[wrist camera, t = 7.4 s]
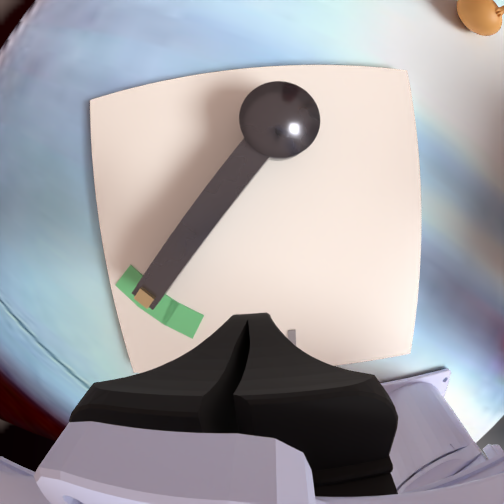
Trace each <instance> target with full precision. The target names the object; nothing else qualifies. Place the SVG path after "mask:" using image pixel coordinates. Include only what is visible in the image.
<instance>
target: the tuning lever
mask: <svg viewBox="0 0 504 504" xmlns="http://www.w3.org/2000/svg"><path fill="white" fill-rule="evenodd" d="M239 124H240V128H241V131H242V134H243V136H244V139H243V140H242V141H241V142H240V144H239V145H238V146H237V147H236V148H235V150H234V151H233V152H232V154H231V155H230V156H229V157H228V159H227V160H226V161H225V162H224V164H223V165H222V166H221V168H220V169H219V170H218V171H217V173H216V174H215V175H214V177H213V178H212V179H211V181H210V182H209V183H208V185H207V186H206V187H205V188H204V190H203V191H202V192H201V194H200V195H199V197H198V198H197V199H196V201H195V202H194V203H193V205H192V206H191V207H190V209H189V210H188V211H187V213H186V214H185V216H184V217H183V218H182V220H181V221H180V223H179V224H178V225H177V227H176V228H175V230H174V231H173V232H172V234H171V235H170V237H169V238H168V240H167V241H166V242H165V244H164V245H163V247H162V248H161V250H160V251H159V253H158V254H157V256H156V257H155V258H154V260H153V261H152V263H151V264H150V266H149V267H148V269H147V270H146V272H145V273H144V275H143V276H142V278H141V279H140V281H139V282H138V284H137V286H136V287H135V289H134V290H133V292H132V294H133V295H134V296H135V297H134V299H135V300H136V301H137V302H139V303H140V304H141V305H143V306H144V307H145V308H146V309H148V308H151V309H152V310H154V308H155V307H156V306H157V305H158V303H159V302H160V301H161V300H162V298H163V297H164V296H165V294H166V293H167V292H168V290H169V289H170V288H171V286H172V285H173V283H174V282H175V281H176V279H177V278H178V277H179V275H180V274H181V272H182V271H183V270H184V268H185V267H186V266H187V264H188V263H189V262H190V260H191V259H192V258H193V256H194V255H195V254H196V252H197V251H198V250H199V248H200V247H201V246H202V244H203V243H204V242H205V240H206V239H207V238H208V236H209V235H210V234H211V232H212V231H213V230H214V228H215V227H216V226H217V225H218V223H219V222H220V221H221V219H222V218H223V217H224V215H225V214H226V213H227V212H228V210H229V209H230V208H231V206H232V205H233V204H234V203H235V201H236V200H237V199H238V197H239V196H240V195H241V194H242V192H243V191H244V190H245V189H246V187H247V186H248V185H249V183H250V182H251V181H252V180H253V178H254V177H255V176H256V175H257V173H258V172H259V171H260V170H261V168H262V167H263V166H264V165H265V164H266V162H267V161H268V160H274V161H283V160H288V159H291V158H293V157H295V156H297V155H298V154H300V153H301V152H303V151H304V150H306V149H307V148H308V147H309V146H310V145H311V144H312V143H313V141H314V140H315V138H316V136H317V134H318V132H319V128H320V113H319V109H318V107H317V104H316V102H315V101H314V99H313V98H312V97H311V95H310V94H309V93H308V92H307V91H305V90H304V89H303V88H301V87H299V86H297V85H295V84H292V83H289V82H284V81H273V82H268V83H265V84H262V85H260V86H258V87H256V88H255V89H254V90H252V91H251V92H250V93H249V94H248V95H247V97H246V98H245V99H244V101H243V103H242V105H241V108H240V113H239Z"/></svg>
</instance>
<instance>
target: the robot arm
mask: <svg viewBox="0 0 504 504" xmlns="http://www.w3.org/2000/svg"><path fill="white" fill-rule="evenodd" d="M450 375H451V371H450V370H449V369H448V368H447V369H442V370H439V371H435V372H431V373H427V374H422V375H418V376H414V377H409V378H405V379H400V380H395V381H390V382H385V383H380V382H379V381H378V380H377V378H376V377H375V376H374V375H371V374H365V373H360V372H354V371H349V370H345V369H342V368H339V367H336V366H332V365H330V364H327V363H325V362H322V361H320V360H318V359H316V358H314V357H312V356H310V355H309V354H307V353H305V352H304V351H302V350H301V349H299V348H298V347H297V346H295V345H294V344H293V343H292V342H291V341H290V340H289V339H288V338H287V337H286V336H285V335H284V334H283V333H282V332H281V331H280V330H279V328H278V327H277V326H276V324H275V323H274V322H273V320H272V318H271V316H270V314H268V313H252V314H236V315H232V316H231V317H230V318H229V319H228V320H227V321H226V322H225V323H224V324H223V325H222V326H221V327H220V328H218V329H217V330H216V331H215V332H214V333H213V334H212V335H211V336H209V337H208V338H207V339H205V340H204V341H203V342H202V343H200V344H199V345H198V346H196V347H195V348H193V349H192V350H190V351H189V352H187V353H185V354H184V355H182V356H180V357H178V358H177V359H175V360H173V361H170V362H168V363H166V364H164V365H161V366H159V367H157V368H154V369H152V370H149V371H146V372H143V373H140V374H136V375H133V376H129V377H125V378H120V379H115V380H109V381H103V382H96V383H93V385H92V386H91V387H90V389H89V390H88V391H87V392H86V394H85V395H84V396H83V398H82V399H81V401H80V402H79V403H78V405H77V406H76V407H75V409H74V410H73V411H72V413H71V416H70V419H69V424H68V425H67V427H66V428H65V429H64V431H63V432H62V434H61V435H60V436H59V438H58V439H57V441H56V442H55V444H54V445H53V447H52V448H51V449H50V451H49V452H48V454H47V455H46V457H45V458H44V460H43V461H42V463H41V464H40V466H39V467H38V469H37V471H36V472H33V471H31V470H29V469H27V468H24V467H22V466H20V465H18V464H16V463H13V462H11V461H9V460H7V459H5V458H3V457H1V456H0V504H504V451H503V450H502V449H501V448H500V446H499V445H490V444H488V445H487V446H486V447H484V448H483V450H484V452H485V454H486V455H487V457H488V459H487V458H486V456H485V455H484V454H483V452H482V451H481V450H480V448H479V447H478V446H477V444H476V443H475V442H474V441H473V439H472V438H471V436H470V435H469V433H468V432H467V430H466V429H465V427H464V426H463V424H462V423H461V422H460V420H459V419H458V417H457V416H456V414H455V413H454V411H453V410H452V408H451V407H450V406H449V404H448V403H447V401H446V400H445V398H444V395H445V392H446V389H447V385H448V382H449V378H450ZM444 378H445V379H444Z"/></svg>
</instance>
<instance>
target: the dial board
mask: <svg viewBox="0 0 504 504" xmlns="http://www.w3.org/2000/svg"><path fill="white" fill-rule="evenodd" d="M273 81H284V82H289V83H292V84H295V85H297V86H299V87H301V88H303V89H304V90H305V91H307V92H308V93H309V94H310V95H311V97H312V98H313V99H314V101H315V102H316V104H317V107H318V109H319V113H320V128H319V132H318V134H317V136H316V138H315V140H314V141H313V143H312V144H311V145H310V146H309V147H308V148H307V149H306V150H304V151H303V152H301V153H300V154H298V155H297V156H295V157H293V158H291V159H288V160H283V161H274V160H268V161H267V162H266V164H265V165H264V166H263V167H262V168H261V170H260V171H259V172H258V173H257V175H256V176H255V177H254V178H253V180H252V181H251V182H250V183H249V185H248V186H247V187H246V189H245V190H244V191H243V192H242V194H241V195H240V196H239V197H238V199H237V200H236V201H235V203H234V204H233V205H232V206H231V208H230V209H229V210H228V212H227V213H226V214H225V215H224V217H223V218H222V219H221V221H220V222H219V223H218V225H217V226H216V227H215V228H214V230H213V231H212V232H211V234H210V235H209V236H208V238H207V239H206V240H205V242H204V243H203V244H202V246H201V247H200V248H199V250H198V251H197V252H196V254H195V255H194V256H193V258H192V259H191V260H190V262H189V263H188V264H187V266H186V267H185V268H184V270H183V271H182V272H181V274H180V275H179V277H178V278H177V279H176V281H175V282H174V283H173V285H172V286H171V288H170V289H169V290H168V292H167V293H166V294H165V296H164V297H163V298H162V300H161V301H160V302H159V303H158V305H157V306H156V307H155V308H154V310H152V309H151V308H148V309H146V308H145V307H144V306H143V305H141V304H140V303H139V302H137V301H136V300H135V299H134V297H135V296H134V295H133V294H132V292H133V290H134V289H135V287H136V286H137V284H138V282H139V281H140V279H141V278H142V276H143V275H144V273H145V272H146V270H147V269H148V267H149V266H150V264H151V263H152V261H153V260H154V258H155V257H156V256H157V254H158V253H159V251H160V250H161V248H162V247H163V245H164V244H165V242H166V241H167V240H168V238H169V237H170V235H171V234H172V232H173V231H174V230H175V228H176V227H177V225H178V224H179V223H180V221H181V220H182V218H183V217H184V216H185V214H186V213H187V211H188V210H189V209H190V207H191V206H192V205H193V203H194V202H195V201H196V199H197V198H198V197H199V195H200V194H201V192H202V191H203V190H204V188H205V187H206V186H207V185H208V183H209V182H210V181H211V179H212V178H213V177H214V175H215V174H216V173H217V171H218V170H219V169H220V168H221V166H222V165H223V164H224V162H225V161H226V160H227V159H228V157H229V156H230V155H231V154H232V152H233V151H234V150H235V148H236V147H237V146H238V145H239V144H240V142H241V141H242V140H243V139H244V136H243V134H242V131H241V128H240V124H239V113H240V108H241V105H242V103H243V101H244V99H245V98H246V97H247V95H248V94H249V93H250V92H251V91H252V90H254V89H255V88H256V87H258V86H260V85H262V84H265V83H268V82H273ZM90 122H91V145H92V160H93V173H94V183H95V192H96V201H97V209H98V217H99V224H100V230H101V237H102V243H103V249H104V254H105V260H106V265H107V270H108V275H109V280H110V285H111V289H112V294H113V298H114V303H115V307H116V311H117V315H118V319H119V323H120V327H121V330H122V334H123V338H124V341H125V345H126V348H127V352H128V355H129V359H130V362H131V365H132V368H133V372H134V373H143V372H146V371H149V370H152V369H154V368H157V367H159V366H161V365H164V364H166V363H168V362H170V361H173V360H175V359H177V358H178V357H180V356H182V355H184V354H185V353H187V352H189V351H190V350H192V349H193V348H195V347H196V346H198V345H199V344H200V343H202V342H203V341H204V340H205V339H207V338H208V337H209V336H211V335H212V334H213V333H214V332H215V331H216V330H217V329H218V328H220V327H221V326H222V325H223V324H224V323H225V322H226V321H227V320H228V319H229V318H230V317H231V316H232V315H236V314H252V313H268V314H270V316H271V318H272V320H273V322H274V323H275V324H276V326H277V327H278V328H279V330H280V331H281V332H282V333H283V334H284V335H285V336H286V337H287V338H288V339H289V340H290V341H291V342H292V343H293V344H294V345H295V346H297V347H298V348H299V349H301V350H302V351H304V352H305V353H307V354H309V355H310V356H312V357H314V358H316V359H318V360H320V361H322V362H325V363H327V364H330V365H332V366H337V365H345V364H352V363H359V362H365V361H372V360H378V359H384V358H389V357H395V356H400V355H405V354H410V352H411V346H412V340H413V333H414V325H415V317H416V308H417V299H418V287H419V274H420V256H421V184H420V166H419V152H418V141H417V132H416V123H415V115H414V108H413V101H412V95H411V89H410V83H409V78H408V73H407V70H399V69H390V68H379V67H366V66H348V65H288V66H269V67H256V68H245V69H235V70H226V71H218V72H211V73H204V74H198V75H192V76H186V77H181V78H175V79H170V80H165V81H160V82H156V83H151V84H147V85H143V86H138V87H134V88H130V89H127V90H123V91H119V92H115V93H112V94H108V95H105V96H102V97H98V98H95V99H92V100H90Z"/></svg>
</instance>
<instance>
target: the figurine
mask: <svg viewBox="0 0 504 504" xmlns="http://www.w3.org/2000/svg"><path fill="white" fill-rule="evenodd" d="M457 12H458V15H459V17H460V19H461V21H462V22H463V24H464V25H465V26H466V27H467V28H468V29H470V30H471V31H473V32H474V33H477V34H479V35H483V36H489V35H493V34H495V33H497V32H498V31H499V29H500V28H501V25H502V15H503V13H504V6H502V7H498V6H497V5H496V3H495V2H494V1H493V0H458V1H457Z"/></svg>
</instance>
